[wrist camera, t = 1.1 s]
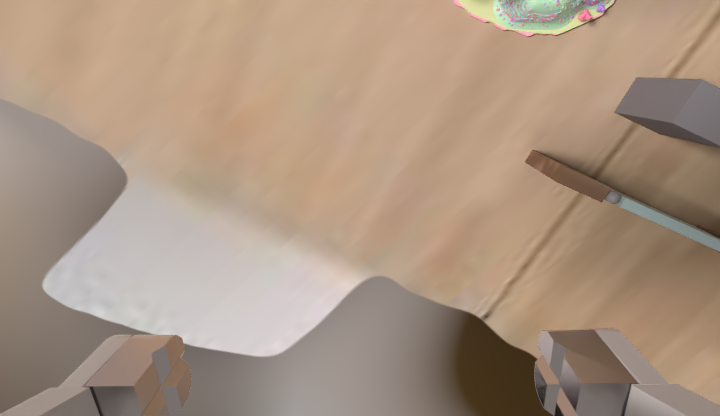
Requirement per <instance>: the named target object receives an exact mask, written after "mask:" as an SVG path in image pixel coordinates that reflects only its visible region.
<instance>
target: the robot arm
mask: <svg viewBox="0 0 720 416" xmlns="http://www.w3.org/2000/svg"><path fill="white" fill-rule="evenodd" d="M538 347H539V349H540V351H541V353H542V354H543V355H542V356H541V357H540V358H539V359H538V360H537V361H536V362H535V372H534V377H535V385H536V390H537V393H538V396H539V399H540V401H541V403H542V405H543V407H544V409H546V410H547V411H548V412H550V413H551V414H553V415H554V416H720V406H719V405H717V404H715V403H713V402H711V401H709V400H707V399H706V398H704V397H702V396H700V395H698V394H696V393H694V392H692V391H690V390H688V389H686V388H684V387H682V386H680V385H678V384H669V383H668V382H667V381H666V380H665V379H664V378H663V377H662V376H661V375H660V374H659V372H658V371H657V370H656V369H655V368H654V367H653V366H652V365H651V364H650V363H649V362H648V361H647V360H646V358H645V357H644V356H643V355H642V354H641V353H640V352H639V351H638V350H637V349H636V348H635V347H634V346H633V344H632V343H631V342H630V341H629V340H628V339H627V338H626V337H625V336H624V335H623V334H622V333H621V332H620V331H619V330H617V329H615V328H596V329H589V330H542V331H541V333H540V335H539V339H538ZM184 351H185V347H184V344H183V341H182V338H181V337H179V336H177V335H114V336H111V337H109V338H107V339H106V340H105V341H104V342H103V343H102V344H101V345H100V346H99V347H98V348H97V349H96V350H95V351H94V352H93V353H92V354H91V355H90V356H89V357H88V358H87V359H86V360H85V361H84V362H83V363H82V364H81V365H80V366H79V367H78V368H77V369H76V370H75V371H74V372H73V373H72V374H71V375H70V376H69V377H68V378H67V379H66V380H65V381H64V382H63V383H62V384H61V385H60V386H59V387H58V388H49V389H47V390H45V391H43V392H42V393H40V394H38V395H36V396H34V397H32V398H30V399H28V400H26V401H24V402H22V403H20V404H18V405H17V406H15V407H13V408H11V409H9V410H7V411H5V412H3V413H1V414H0V416H173V415H174V414H176V413H177V412H178V411H179V410H181V409H182V408H183V406H184V404H185V402H186V400H187V398H188V395H189V391H190V387H191V371H190V367H189V365H188V364H187V363H186V362H185V361H184V360H183V359H182V358H181V356H182V354H183V353H184Z"/></svg>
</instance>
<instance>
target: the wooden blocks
mask: <svg viewBox="0 0 720 416" xmlns="http://www.w3.org/2000/svg"><path fill="white" fill-rule="evenodd" d="M525 162H526V163H527V164H529V165H530V166H532V167H534V168H535V169H537V170H538V171H540V172H542V173H543V174H545V175H546V176H548V177H550V178H551V179H553V180H554V181H556V182H558V183H560V184H562V185H564V186H567V187H569V188H571V189H573V190H575V191H578V192H580V193H582V194H584V195H587V196H589V197H591V198H593V199H596V200H598V201H600V202H602V201H603V200H604V198H605V197H606V196H607V194H608V193H609V191H610V190H611V187H609V186H607V185H605V184H603V183H601V182H599V181H597V180H595V179H593V178H591V177H589V176H587V175H585V174H583V173H581V172H579V171H577V170H575V169H573V168H571V167H569V166H567V165H565V164H563V163H560V162H558V161H556V160H554V159H552V158H549V157H547V156H545V155H543V154H541V153H538V152H536V151H534V150H532V151H531V153H530V155H529V156H528V158H527V160H526V161H525ZM697 228H699V229H701V230H703V231H705V232H707V233H709V234H711V235H713V236H715V237H717V238H719V239H720V235H719V234H717V233H715V232H713V231H710V230H708V229H706V228H704V227H702V226H699V225H698V226H697ZM718 252H719V251H718Z"/></svg>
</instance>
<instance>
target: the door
mask: <svg viewBox="0 0 720 416" xmlns="http://www.w3.org/2000/svg"><path fill="white" fill-rule="evenodd" d="M604 199H605V200H607V201H609V202H611V203H612V204H616V205H617V206H619V207H621V208H623V209H626V210H628V211H630V212H632V213H635V214H637V215H639V216H641V217H644V218H646V219H648V220H650V221H652V222H655V223H657V224H659V225H661V226H664V227H666V228H668V229H670V230H672V231H675V232H677V233H679V234H681V235H684V236H686V237H688V238H690V239H693V240H695V241H697V242H699V243H701V244H704V245H706V246H708V247H710V248H713V249H715V250H717V251H719V252H720V239H719V238H717V237H715V236H713V235H711V234H709V233H707V232H705V231H703V230H701V229H699V228H697V227H695V226H693V225H691V224H688V223H686V222H684V221H682V220H680V219H677V218H675V217H673V216H671V215H669V214H666V213H664V212H662V211H660V210H657V209H655V208H653V207H651V206H649V205H646V204H644V203H642V202H640V201H638V200H635V199H633V198H631V197H629V196H627V195H624V194H622V193H620V192H618V191H616V190H613V189H611V190H610V191H609V193H608V194H607V196H606V197H605V198H604Z"/></svg>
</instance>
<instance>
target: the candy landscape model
mask: <svg viewBox="0 0 720 416" xmlns="http://www.w3.org/2000/svg"><path fill="white" fill-rule="evenodd" d="M453 1H454V3H455V5H456V6H459V7H461V8H463V9H465V10H466V11H467V12H468V13H469V15H470V16H471V17H474V18H476V19H478V20H481V21H482V22H491V23H493V24H494V26H495V27H497V28H500V29H501V30H512V31H515V32H517V33H519V34H522V35H524V36H531V35H533V34H535V33H538V34H541V35H544V34H551V35H558V34H560V33H563V32H565V31H568V30H570V29H572V28H575V27H577V26H579V25H581V24H584V23H586V22H588V21H590V20H593V19H595V18H597V17H599V16H601V15H603V14H604V12H605V10H607V8H608V7H609V6H611V5H612V4H613V3H614V1H615V0H453Z"/></svg>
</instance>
